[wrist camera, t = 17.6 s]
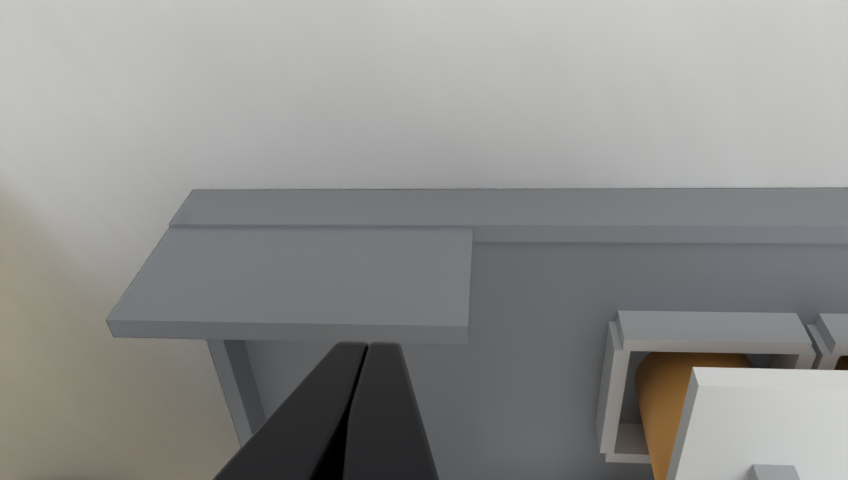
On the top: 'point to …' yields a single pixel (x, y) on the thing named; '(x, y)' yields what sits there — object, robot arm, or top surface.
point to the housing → (500, 303)
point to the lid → (763, 425)
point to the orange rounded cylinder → (671, 396)
